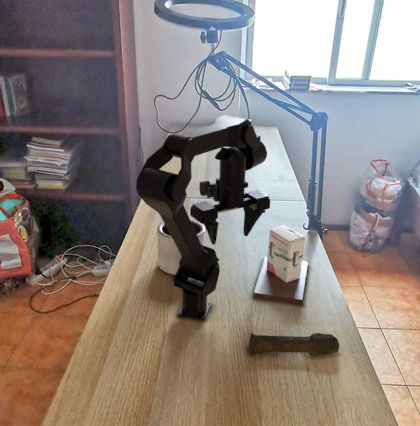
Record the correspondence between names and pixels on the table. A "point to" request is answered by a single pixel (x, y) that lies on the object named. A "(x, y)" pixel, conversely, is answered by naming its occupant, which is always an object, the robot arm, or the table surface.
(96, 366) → the table surface
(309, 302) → the table surface
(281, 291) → the walnut board
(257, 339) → the hand tool
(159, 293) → the table surface
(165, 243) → the planter
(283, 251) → the ink box
